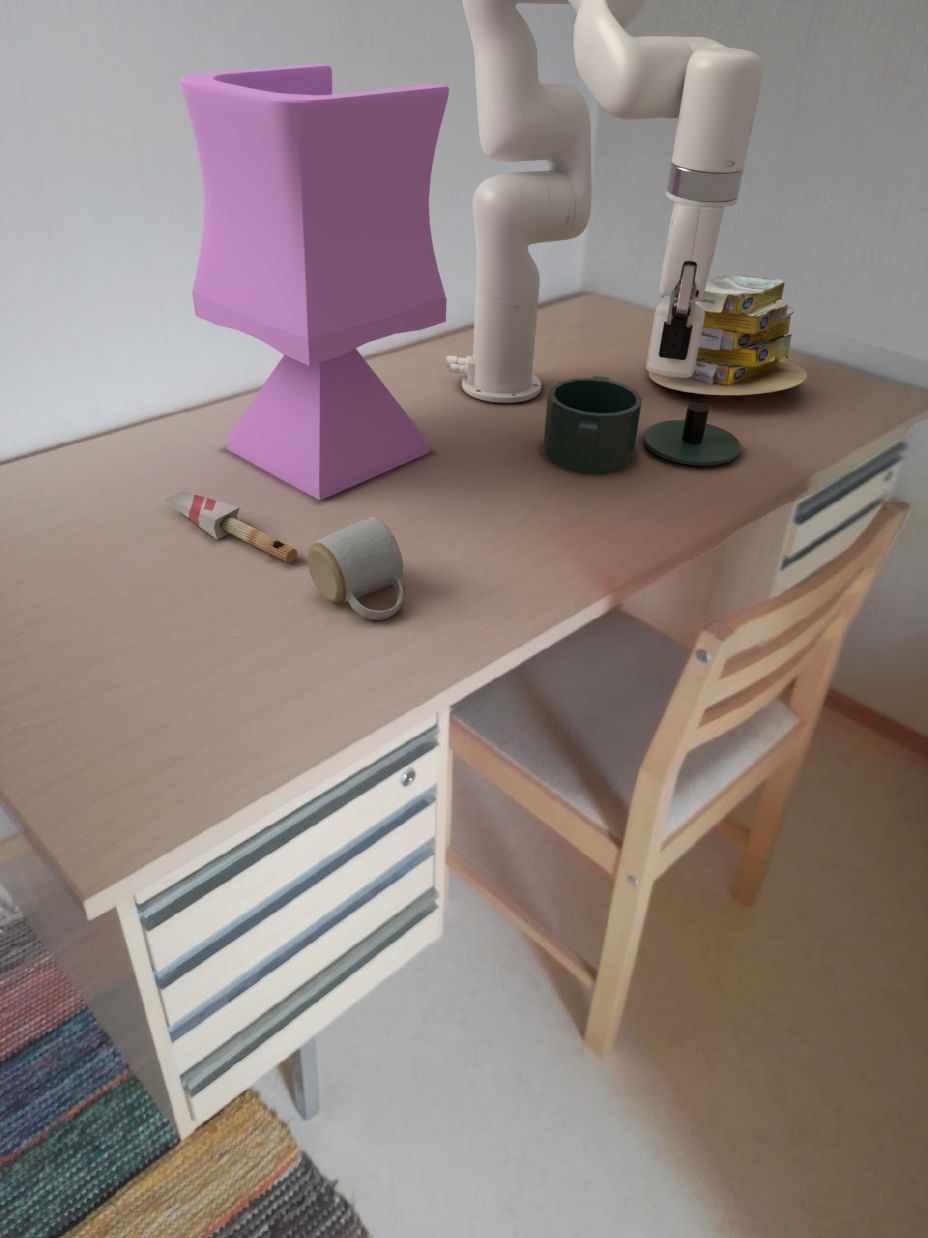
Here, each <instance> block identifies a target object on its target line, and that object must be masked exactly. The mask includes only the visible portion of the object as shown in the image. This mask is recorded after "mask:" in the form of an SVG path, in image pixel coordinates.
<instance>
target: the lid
mask: <svg viewBox="0 0 928 1238" xmlns="http://www.w3.org/2000/svg"><path fill="white" fill-rule="evenodd" d="M709 412H710V407H709V406H708V405H706V404H705V403H704V404H703V403H701V402H691V403H689V404H688V405H687V407H686V413H685V418H684V419H673V420H665V421H660V422H657V423H653V424H652V425H650V426H648V428H646V429H645V431H644V434H643V442H644V444H645V446H646V447H647V448H648V450H650V451H651V452H652V453H654V454H656V455H657V456H660V457H661V458H664V459H666V460H668V461H671V462H675V463H679V464H683V465H691V466H703V467H705V466H716V465H717V466H718V465H722V464H726V463H729V462H731V461H733V460H734V459H736V458H737V457H738V456H739V454H740V453H741V452H740V451H741V443H740V441H739V439H737V437H736V436H735V435H734V434H733V433H731V432H729V431H728V430H726V429H724V428H722V427H720V426H717V425H714V424H710V423H707V422H708V417H709Z"/></svg>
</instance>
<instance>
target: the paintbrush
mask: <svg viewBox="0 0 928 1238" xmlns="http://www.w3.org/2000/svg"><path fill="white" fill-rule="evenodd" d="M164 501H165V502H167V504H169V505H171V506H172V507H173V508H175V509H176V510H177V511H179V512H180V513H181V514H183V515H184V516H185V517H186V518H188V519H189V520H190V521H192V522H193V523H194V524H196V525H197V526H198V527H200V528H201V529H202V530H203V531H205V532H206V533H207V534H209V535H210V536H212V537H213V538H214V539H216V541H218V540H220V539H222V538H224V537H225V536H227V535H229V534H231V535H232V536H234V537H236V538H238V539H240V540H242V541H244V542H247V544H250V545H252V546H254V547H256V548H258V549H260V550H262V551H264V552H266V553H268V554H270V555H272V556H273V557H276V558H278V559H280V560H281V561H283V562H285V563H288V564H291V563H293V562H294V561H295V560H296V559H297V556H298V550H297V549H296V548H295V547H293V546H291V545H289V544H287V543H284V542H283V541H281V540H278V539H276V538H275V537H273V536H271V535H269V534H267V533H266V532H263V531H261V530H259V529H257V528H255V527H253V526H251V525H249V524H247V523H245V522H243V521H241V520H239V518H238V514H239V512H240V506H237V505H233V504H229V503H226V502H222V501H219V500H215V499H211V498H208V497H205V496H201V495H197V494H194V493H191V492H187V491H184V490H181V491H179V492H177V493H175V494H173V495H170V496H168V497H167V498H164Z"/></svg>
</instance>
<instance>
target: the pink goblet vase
mask: <svg viewBox="0 0 928 1238" xmlns="http://www.w3.org/2000/svg"><path fill="white" fill-rule="evenodd" d="M179 82H180V86H181V90H182V94H183V98H184V102H185V105H186V108H187V112H188V115H189V119H190V122H191V123H190V124H191V128H192V130H193V136H194V138H195V142H196V148H197V152H198V158H199V164H200V169H201V179H202V189H203V222H202V232H201V241H200V243H201V244H200V249H199V255H198V261H197V267H196V272H195V275H194V280H193V286H192V291H191V292H192V293H191V294H192V300H193V309H194V316H195V317H197V318H200V319H201V320H203V321H204V320H205V321H206V322H209V323H211V324H213V325H215V326H218V327H219V326H220V327H223V328H227V329H231V330H232V329H233V330H235V331H236V330H237V331H238V332H241V333H243V334H246V335H247V336H251V337H252V338H254V339H257V340H259V341H261V342H263V343H265V344H266V345H267V346H269V347H271V348H272V349H274V350H276V351H277V352H278V353H281V354H282V355H283V356H282V358H281V359H280V360H279V362H278V364H277V365H276V366H275V368H274V369H273V370H272V372H271V373H270V375H269V376H268V378H267V379H266V380H265V382H264V384H262V386H261V388H260V389H259V390H258V392H257V394H255V396H254V397H253V399H252V400H251V402H250V403H249V404H248V406H247V408H246V409H245V411H244V412H243V413H242V415H241V416H240V417H239V419H238V421H237V422H236V423H235V425H233V428H232V429H231V430H230V432H229V433H228V435H227V436H226V438H225V442H226V450H227V451H229V452H231V453H233V454H234V455H236V456H238V457H240V458H241V459H243V460H245V461H247V462H248V463H250V464H253V465H254V466H256V467H258V468H260V469H261V470H264V471H265V472H267V473H269V474H271V475H272V476H274V477H276V478H277V479H280V480H282V481H283V482H285V483H287V484H288V485H290V486H293V487H294V488H295V489H297V490H300V491H301V492H303V493H305V494H307V495H309V496H310V497H312V498H314V499H316V500H318V501H322V500H325V499H327V498H329V497H331V496H333V495H336V494H338V493H341V492H343V491H346V490H348V489H349V488H352V487H355V486H356V485H359V484H361V483H364V482H365V481H367V480H370V479H372V478H375V477H377V476H379V475H380V476H381V475H382V474H384V473H387V472H388V471H391V470H394V469H395V468H396V469H397V468H398V467H400V466H402V465H404V464H407V463H409V462H411V461H413V460H416V459H418V458H421V457H423V456H425V455H428V454H429V453H430V452H429V449H430V447H429V444H430V443H429V441H428V439H427V438H426V437H425V435H424V434H423V433H422V431H421V430H420V429H419V427H417V425H416V424H415V422H414V421H413V420H412V419H411V417H410V416H409V415H408V413H407V412H406V411H405V410H404V408H403V407H402V406H401V404H400V403H399V401H397V399H396V398H395V397H394V396H393V394H392V392H390V390H389V389H388V388H387V386H386V385H385V384H384V383H383V381H382V380H381V378H380V377H379V376H378V375H377V374H376V372H375V371H374V370H373V368H372V367H371V366H370V364H369V363H368V361H366V360H365V358H364V357H363V356H362V354H361V353H360V351H358V348H359V347H362V346H364V345H366V344H368V343H371V342H374V341H377V340H380V339H383V338H386V337H390V336H393V335H395V334H402V333H409V332H415V331H421V330H425V329H428V328H431V327H434V326H438V325H441V324H444V323H446V322H447V300H448V299H447V296H446V293H445V288H444V286H443V282H442V278H441V274H440V271H439V267H438V263H437V259H436V254H435V250H434V243H433V237H432V230H431V218H430V193H431V191H430V190H431V181H432V180H431V178H432V171H433V165H434V160H435V153H436V147H437V143H438V140H439V134H440V130H441V126H442V123H443V118H444V115H445V111H446V107H447V104H448V103H447V102H448V99H449V95H450V86H449V85H443V84H437V83H431V84H421V85H411V86H401V87H391V88H384V89H383V88H382V89H373V90H364V91H354V92H353V91H352V92H345V93H335V94H334V93H333V70H332V66H331V65H329V64H323V63H312V64H300V65H298V64H297V65H288V66H287V65H286V66H274V67H262V68H261V67H260V68H250V69H249V68H247V69H237V70H225V71H210V72H209V71H208V72H199V73H190V74H185V75H182V76H181V78H180V79H179Z"/></svg>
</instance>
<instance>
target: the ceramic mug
mask: <svg viewBox="0 0 928 1238" xmlns="http://www.w3.org/2000/svg"><path fill="white" fill-rule="evenodd" d="M307 566H308V567H307V568H308V571H309V575H310V577H311V579H312V581H313V583H314V586H315V587H316V589H317V590H318V592H319V593H320V594H321V595H322V597H323V598H325V600H328V601H329V602H331V603H333V604H342V603H347V602H348V604H349V605H350V607H351V608H352V610H353V611H355V612H356V613H357V614H359V615H360V616H361V617H363V618H365V619H368V620H374V621H381V620H385V619H388V618H390V617H393V616H394V615H395V614H396V613H397V612H398V611H399V610H400V608H401V606H402V603H403V600H404V590H403V586H402V585H403V584H402V582H401V579H402V577H403V573H404V561H403V555H402V552H401V548H400V546H399V544H398V541H397V539H396V537H395V535H394V534H393V533H392V531H391V529H390V528H389V527H388V525H386V524H385V522H384V521H382V520H381V519H380V518H378V517H374V516H369V517H366V518H363V519H362V520H359V521H358V522H355V523H353V524H351V525H348V526H345V527H344V528H341V529H339V530H337V531H335V532H333V533H331V534H329V535H326V536H323V537H322V538H320V539H319V540H318V541H316V542H314V543H313V544H312V545H311V546H310V548H309V549H308V553H307ZM390 586H393V588H394V589H395V592H396V597H397V600H396V603H395V605H394V606H392V607H391V608H387V609H383V610H376V609H370V608H367V607H366V606H364V605H362V603H361V602H360V601H359V600H358V598H361V597H363V596H366V595H368V594H372V593H374V592H377V591H380V590H382V589H385V588H388V587H390Z"/></svg>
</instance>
